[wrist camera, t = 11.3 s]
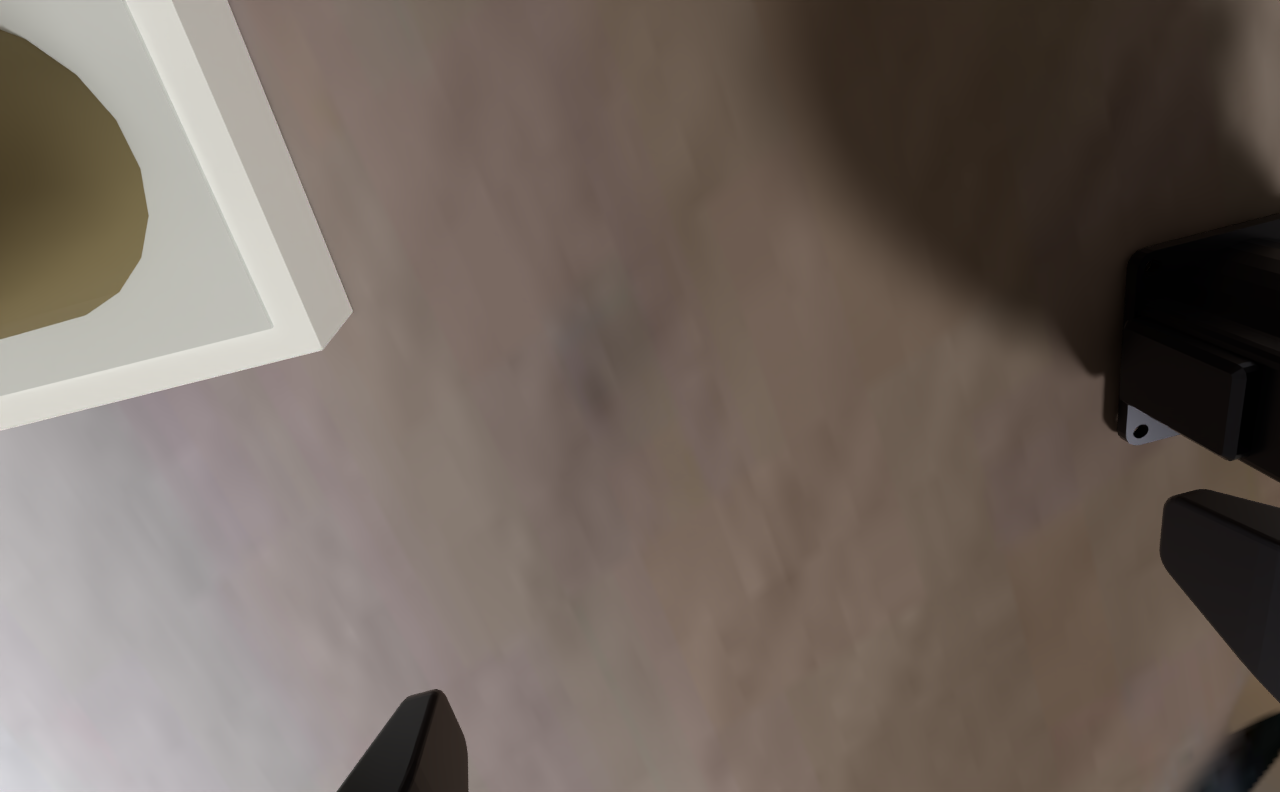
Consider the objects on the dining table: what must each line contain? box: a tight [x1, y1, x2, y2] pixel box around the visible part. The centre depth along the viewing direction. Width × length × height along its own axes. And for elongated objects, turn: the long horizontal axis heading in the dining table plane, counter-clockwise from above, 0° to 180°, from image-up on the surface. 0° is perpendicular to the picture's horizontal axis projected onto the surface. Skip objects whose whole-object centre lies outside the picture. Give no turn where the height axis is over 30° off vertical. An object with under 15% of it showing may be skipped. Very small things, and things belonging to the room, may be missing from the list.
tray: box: [0, 0, 353, 431], centre depth 16 cm, size 10×10×3 cm
